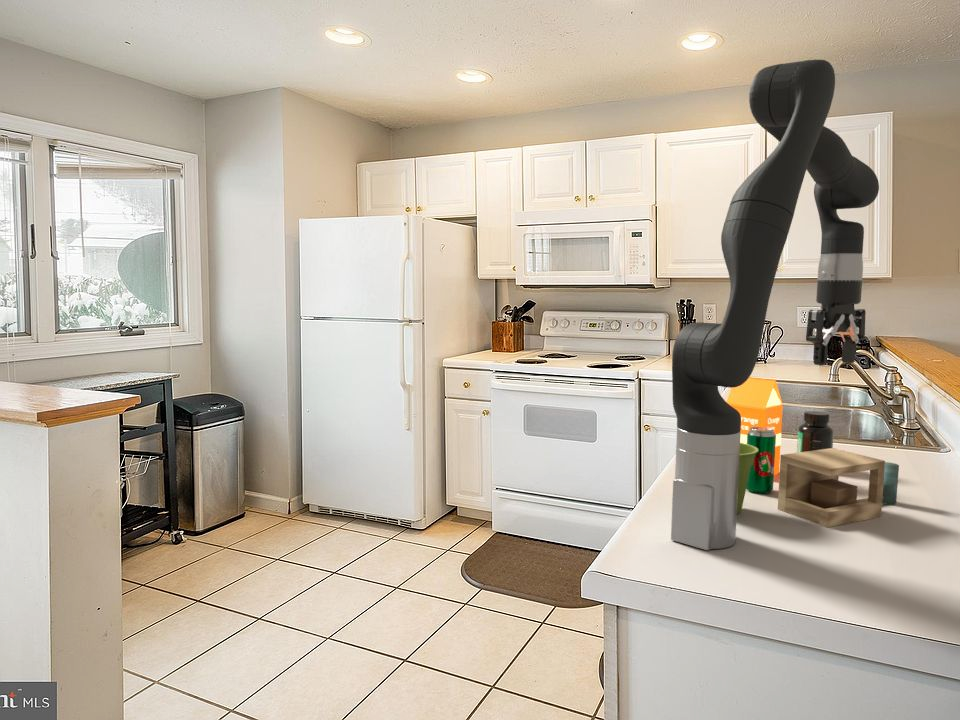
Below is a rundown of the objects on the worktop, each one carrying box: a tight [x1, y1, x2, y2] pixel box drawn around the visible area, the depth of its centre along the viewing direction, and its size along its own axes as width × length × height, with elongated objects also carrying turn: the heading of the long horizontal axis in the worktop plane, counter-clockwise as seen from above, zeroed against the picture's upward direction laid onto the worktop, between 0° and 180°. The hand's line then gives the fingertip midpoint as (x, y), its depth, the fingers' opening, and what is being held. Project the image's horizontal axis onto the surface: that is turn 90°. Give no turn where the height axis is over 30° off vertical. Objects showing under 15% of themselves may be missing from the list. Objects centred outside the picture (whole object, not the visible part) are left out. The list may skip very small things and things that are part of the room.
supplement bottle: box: [796, 410, 835, 453], centre depth 148 cm, size 7×7×12 cm
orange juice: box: [725, 376, 784, 476], centre depth 144 cm, size 8×9×20 cm
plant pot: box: [737, 443, 759, 514], centre depth 120 cm, size 12×12×11 cm
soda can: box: [746, 427, 776, 495], centre depth 131 cm, size 5×5×12 cm
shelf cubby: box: [777, 447, 886, 528], centre depth 118 cm, size 13×10×10 cm
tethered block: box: [810, 461, 900, 509], centre depth 122 cm, size 18×5×7 cm, turn 114°
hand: (834, 363), depth 132 cm, fingers open, 8 cm apart
